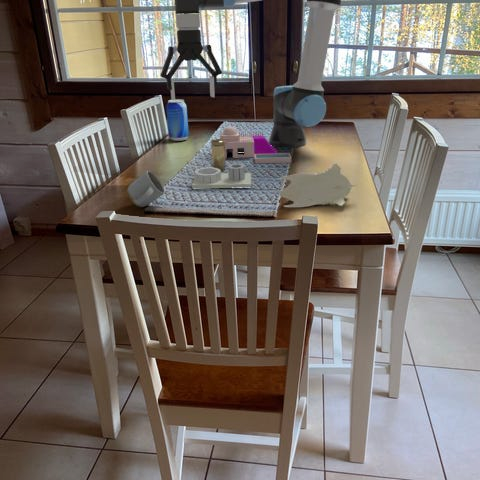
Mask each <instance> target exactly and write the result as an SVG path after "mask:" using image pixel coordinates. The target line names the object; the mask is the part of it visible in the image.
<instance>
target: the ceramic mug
mask: <svg viewBox="0 0 480 480" xmlns="http://www.w3.org/2000/svg"><path fill="white" fill-rule="evenodd" d="M165 192H166V191H165V187H164V186H163V184H162V183H161V181H160V180H159V178H158V177H157V176H156V175H155V174H154V173H153V172H151V171H150V170H146V171H144V173H142V174H141V175H140V176H139V177H138V178H137V179H136V180H134V181H132V183H130V184H129V185H128V187H127V188H126V193H127V195H128V197H129V199H130V200H131V202H132V203H133V204H135V205H136V207H138V208H144V207H147V206H148V205H150V204H151V203H152V202H154V201H156V200H158V198H160V197H161V196H163V195H164V194H165Z"/></svg>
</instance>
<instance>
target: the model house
mask: <svg viewBox="0 0 480 480" xmlns="http://www.w3.org/2000/svg"><path fill="white" fill-rule="evenodd" d="M219 135H220V137H219V139H222V140H224V141H225V159H227V155H232V158H233V159H236V158H237V159H240V158H244V159H245V158H253V160H254V164H291V163H292V155H291V153H290V152H280V153H279V152H278V150H277V148H276V147H273V146H271V144H270V143H269V140H267V138H266V136H265V135H264V130H263V131H261V130H260V131H245V132H244V131H243V132H242V131H241V132H240V131H237V129H236V128H235V127H234V126H231V125H228V126H226V127H225V128H224V129H223V131H221V132H219ZM238 152H244V154H238ZM233 159H232V160H230V161H231V164H234V160H233Z"/></svg>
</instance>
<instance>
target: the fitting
mask: <svg viewBox="0 0 480 480" xmlns="http://www.w3.org/2000/svg"><path fill="white" fill-rule="evenodd" d="M210 146H211V147H210V148H211V163H212V166H211V167H213V168H218V169H220V170H221V171H222V172H224V171H223V170H225V171H226V158H225V141H224V140H222V139H220V138H218V139H217V138H215V139H211V141H210Z"/></svg>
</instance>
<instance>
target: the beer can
mask: <svg viewBox="0 0 480 480" xmlns="http://www.w3.org/2000/svg"><path fill="white" fill-rule="evenodd" d="M187 107H188V106H187V104H186V103H185V99H180V98H179V99H178V98H177V99H176V98H175V100H172V99H169V100H167V104H166V107H165V108H166V109H165V110H166V118H167V120H166V121H167V129H168V137H169V139H170V140H171V141H175V142H176V141H177V142H179V141H185V140H187V139H188V137H189V135H190V134H189V122H188V108H187Z"/></svg>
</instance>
